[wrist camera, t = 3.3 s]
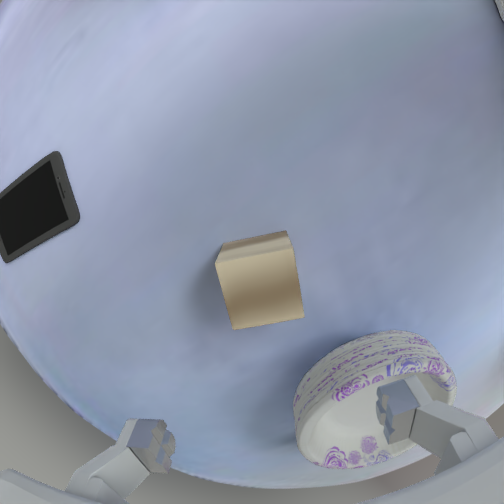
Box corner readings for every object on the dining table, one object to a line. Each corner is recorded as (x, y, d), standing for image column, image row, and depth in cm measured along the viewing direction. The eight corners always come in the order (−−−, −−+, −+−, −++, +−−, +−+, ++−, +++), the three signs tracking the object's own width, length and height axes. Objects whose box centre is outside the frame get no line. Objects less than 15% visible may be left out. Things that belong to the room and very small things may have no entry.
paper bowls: (299, 431, 30) (305, 484, 22) (278, 332, 26) (284, 393, 18) (416, 399, 28) (440, 443, 21) (429, 294, 24) (474, 335, 17)
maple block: (223, 243, 23) (214, 263, 18) (285, 230, 23) (293, 248, 18) (237, 298, 25) (233, 330, 20) (296, 288, 24) (304, 317, 19)
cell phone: (-11, 205, 23) (-16, 207, 22) (61, 147, 21) (57, 147, 20) (8, 263, 25) (4, 265, 24) (84, 220, 23) (80, 221, 22)
